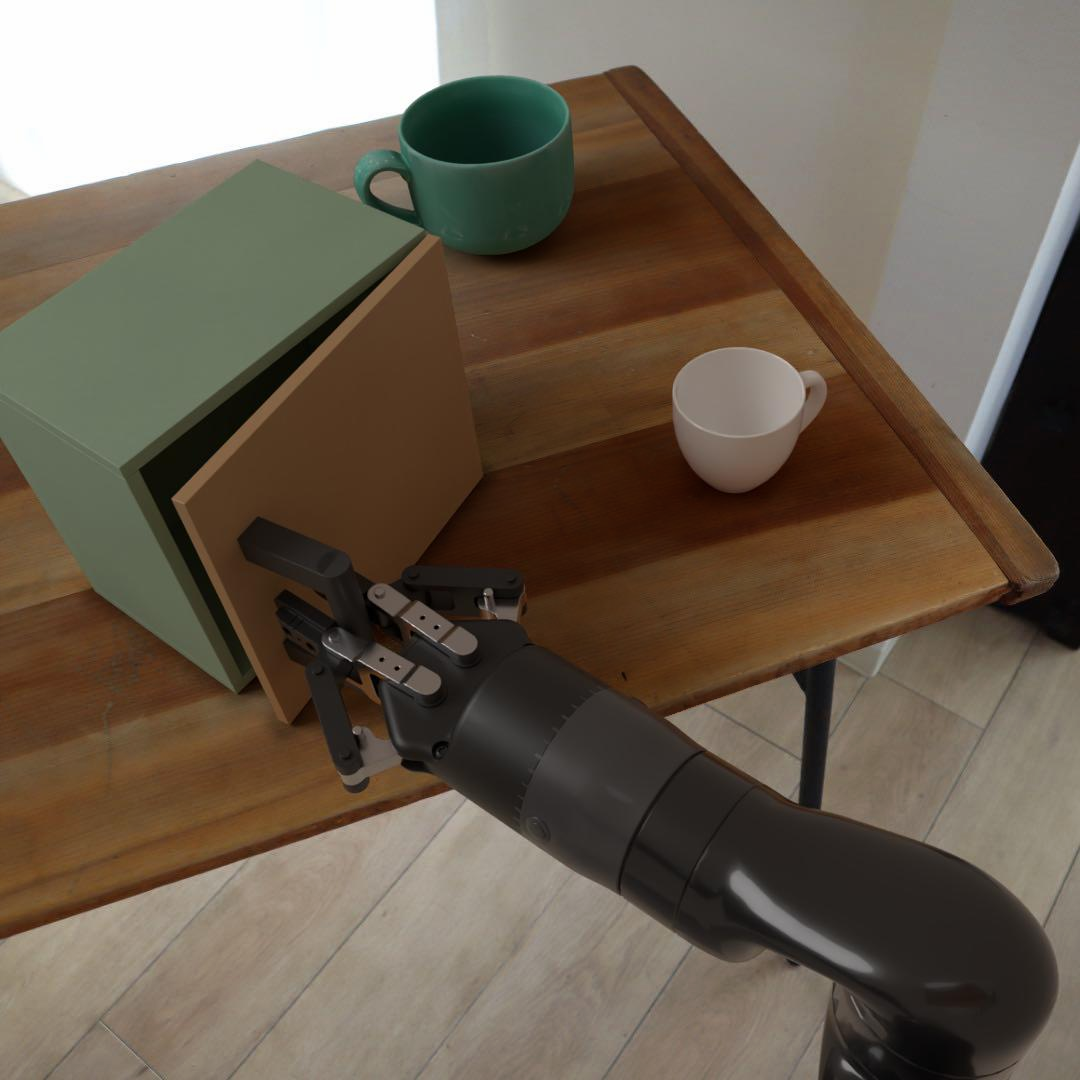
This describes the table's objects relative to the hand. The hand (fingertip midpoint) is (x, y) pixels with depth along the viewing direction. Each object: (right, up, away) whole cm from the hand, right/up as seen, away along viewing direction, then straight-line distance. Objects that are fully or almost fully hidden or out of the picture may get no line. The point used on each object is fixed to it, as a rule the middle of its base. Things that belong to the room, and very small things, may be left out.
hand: (299, 589), depth 59 cm
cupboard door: (+5, -1, +10) cm, 12 cm away
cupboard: (-4, +3, +15) cm, 16 cm away
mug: (+7, +26, +34) cm, 44 cm away
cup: (+25, +7, +16) cm, 31 cm away
